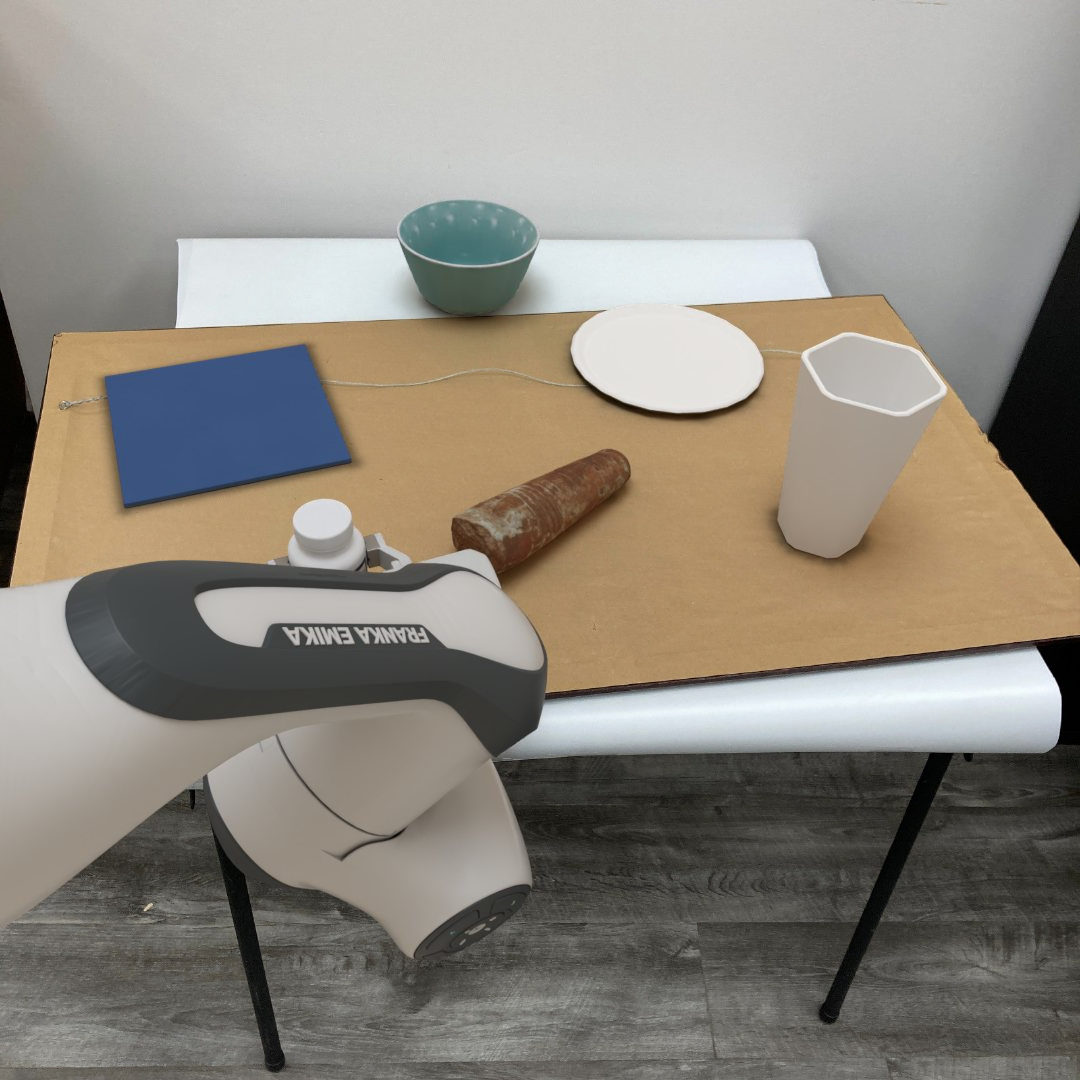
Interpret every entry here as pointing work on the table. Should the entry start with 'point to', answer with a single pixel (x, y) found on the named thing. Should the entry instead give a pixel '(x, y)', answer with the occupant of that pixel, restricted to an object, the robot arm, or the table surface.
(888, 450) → the cup
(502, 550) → the brown rounded cylinder
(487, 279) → the bowl
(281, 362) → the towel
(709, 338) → the plate
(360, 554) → the pill bottle
